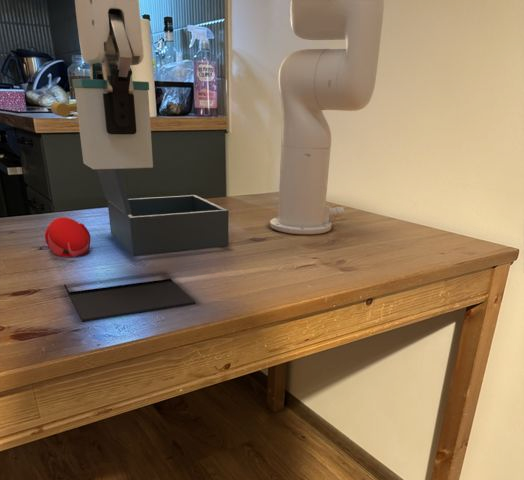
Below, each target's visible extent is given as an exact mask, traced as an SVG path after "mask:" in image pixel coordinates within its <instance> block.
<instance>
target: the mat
mask: <svg viewBox="0 0 524 480" xmlns="http://www.w3.org/2000/svg"><path fill="white" fill-rule="evenodd" d="M63 287H64V289H65V290H66V292H67V295H68V297H69V298H70V300H71V302H72V305H73V306H74V308H75V310H76V312H77V314H78V316H79V318H80V320H81V322H82V323H83V322H89V321H96V320H103V319H109V318H114V317H115V318H116V317H120V316H121V317H122V316H127V315H133V314H139V313H146V312H151V311H157V310H158V311H159V310H165V309H171V308H178V307H183V306H189V305H196V300H194V299H193V298H192V297H191V296H190V295H189V294H188V293H187V292H186V291H185V290H183V288H181V287H180V286H179V285H178V284H177V283H176V282H175V281H174V280H173V279H172V278H165V279H157V280H149V281H143V282H141V281H140V282H133V283H127V284H119V285H111V286H105V287H97V288H90V289H89V288H88V289H82V290H75V291H70V290H69V289H68V287H67V285H66V284H63Z"/></svg>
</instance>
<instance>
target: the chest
mask: <svg viewBox="0 0 524 480" xmlns="http://www.w3.org/2000/svg"><path fill="white" fill-rule="evenodd" d="M106 200H107V199H106ZM128 201H129V205H130V208H131V212H132V214H130V215H126V214H125V213H124V212H122V211H121V210H120V209H119V208H117V207H116V206H115V205H113V204H112V203H111V202H110V201H108V200H107V208H108V209H107V210H108V219H109V227H110V234H111V236H112V237H113V238H114V239H115V240H116V241H117V242H118V243H119V244H120V245H121V246H122V247H123V248H124V249H125V250H126V251H127V252H128V253H129V254H130V255H131V256H132V257H140V256H150V255H157V254H167V253H177V252H185V251H186V252H187V251H194V250H195V251H196V250H203V249H213V248H223V247H228V246H229V209H226V208H224V207H222V206H220V205H218V204H216V203H214V202H212V201H209V200H207V199H205V198H202V197H200V196H199V195H197V194H190V195H189V194H187V195H171V196H156V197H154V196H153V197H139V198H137V197H136V198H128Z"/></svg>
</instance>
